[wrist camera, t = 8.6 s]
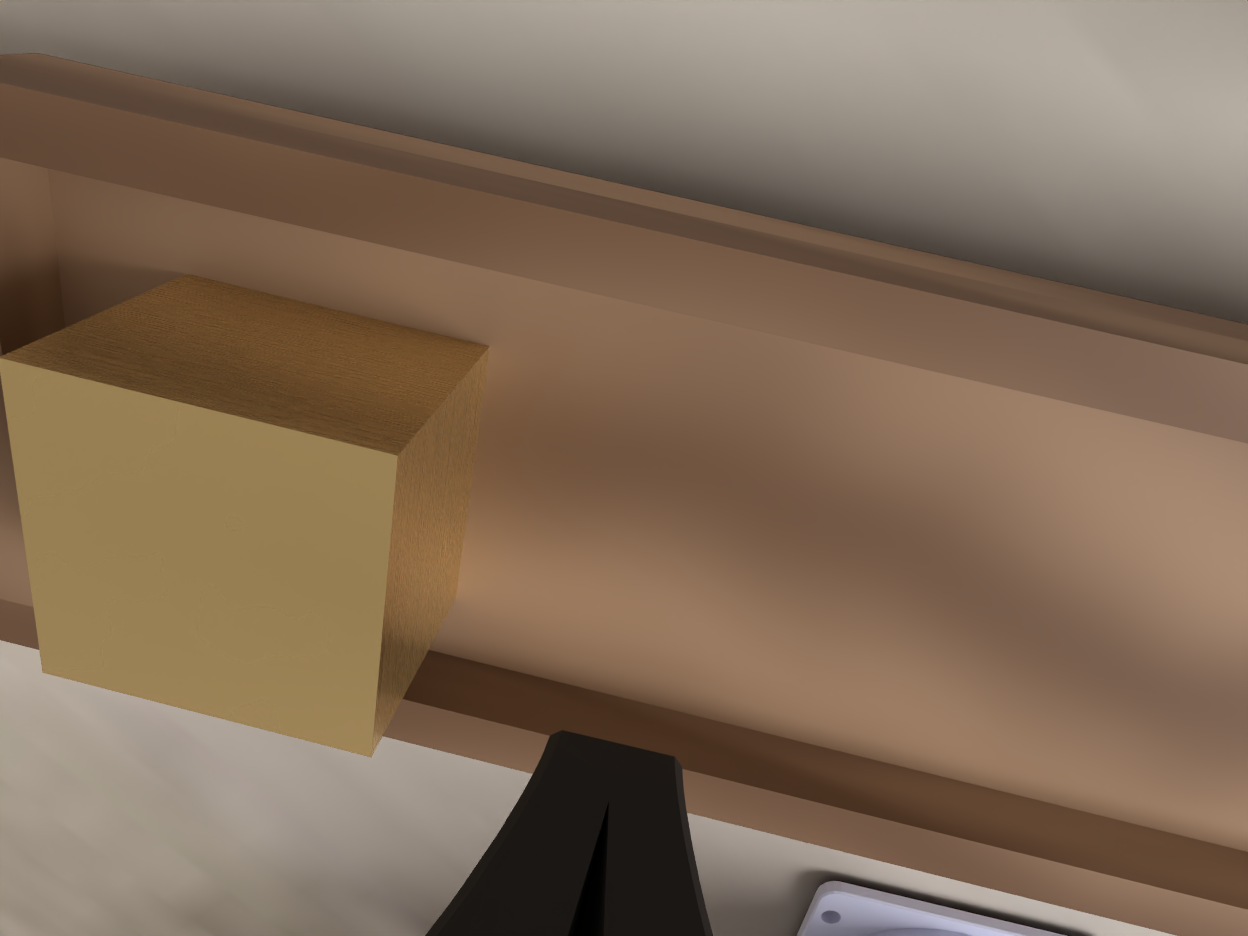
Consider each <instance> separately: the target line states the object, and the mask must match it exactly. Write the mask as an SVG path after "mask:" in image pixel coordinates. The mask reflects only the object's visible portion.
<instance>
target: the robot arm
mask: <svg viewBox="0 0 1248 936" xmlns="http://www.w3.org/2000/svg"><path fill="white" fill-rule="evenodd" d="M425 936H713V934H712V930H711V926H710V923H709V919H708V915H707V911H706V907H705V903H704V898H703V894H702V890H701V885H700V881H699V876H698V871H697V866H696V861H695V856H694V851H693V846H692V841H691V835H690V829H689V823H688V817H687V810H686V803H685V794H684V786H683V771H682V766H681V765H680V763H679V762H678V760H677V759H676V758H675V756H671V755H667V754H662V753H658V752H654V751H650V750H645V749H641V748H637V747H633V746H628V745H624V744H620V743H616V742H611V741H607V740H603V739H599V738H594V737H590V736H586V735H582V734H577V733H573V732H569V731H564V730H561V731H559V732H556V733H554V734H552V735H550V737H549V739H548V742H547V744H546V747H545V749H544V752H543V754H542V756H541V759H540V761H539V763H538V765H537V767H536V769H535V771H534V773H533V775H532V777H531V779H530V781H529V782H528V784H527V786H526V788H525V790H524V791H523V793H522V795H521V797H520V798H519V800H518V802H517V804H516V805H515V807H514V808H513V810H512V812H511V813H510V815H509V817H508V818H507V820H506V822H505V823H504V825H503V826H502V828H501V830H500V831H499V833H498V834H497V836H496V837H495V839H494V840H493V842H492V843H491V845H490V846H489V848H488V849H487V851H486V852H485V854H484V855H483V857H482V858H481V859H480V861H479V862H478V864H477V865H476V867H475V868H474V870H473V871H472V873H471V874H470V876H469V877H468V879H467V880H466V881H465V883H464V884H463V886H462V887H461V889H460V890H459V892H458V893H457V894H456V896H455V897H454V899H453V900H452V901H451V903H450V904H449V905H448V907H447V908H446V909H445V911H444V912H443V913H442V915H441V916H440V917H439V919H438V920H437V921H436V922H435V924H434V925H433V926H432V928H431V929H430V930H429V931H428V933H427V934H426V935H425ZM797 936H1066V935H1062V934H1058V933H1053V932H1049V931H1045V930H1041V929H1037V928H1032V927H1028V926H1024V925H1020V924H1016V923H1012V922H1007V921H1003V920H999V919H995V918H991V917H986V916H982V915H978V914H974V913H970V912H966V911H961V910H957V909H953V908H949V907H945V906H940V905H936V904H932V903H928V902H924V901H920V900H915V899H911V898H907V897H903V896H899V895H894V894H890V893H886V892H882V891H878V890H874V889H869V888H865V887H861V886H857V885H853V884H848V883H844V882H840V881H829V882H826V883H824V884H822V885H820V887H819V888H818V889H817V891H816V893H815V895H814V898H813V900H812V902H811V905H810V907H809V909H808V911H807V914H806V916H805V918H804V920H803V923H802V925H801V927H800V929H799V932H798V934H797Z"/></svg>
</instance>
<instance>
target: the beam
mask: <svg viewBox="0 0 1248 936" xmlns="http://www.w3.org/2000/svg"><path fill="white" fill-rule="evenodd" d="M187 274H190V275H194V276H199V277H203V278H207V279H211V280H215V281H219V282H224V283H228V284H232V285H236V286H240V287H244V288H249V289H253V290H257V291H261V292H265V293H269V294H274V295H278V296H282V297H286V298H290V299H294V300H299V301H303V302H307V303H311V304H315V305H319V306H324V307H328V308H332V309H336V310H340V311H344V312H349V313H353V314H357V315H361V316H365V317H369V318H374V319H378V320H382V321H386V322H390V323H394V324H399V325H403V326H407V327H411V328H415V329H419V330H424V331H428V332H432V333H436V334H440V335H444V336H449V337H453V338H457V339H461V340H465V341H469V342H474V343H478V344H482V345H486V346H490V349H489V356H488V364H487V371H486V378H485V386H484V393H483V401H482V408H481V416H480V423H479V431H478V438H477V446H476V453H475V460H474V468H473V475H472V483H471V490H470V498H469V505H468V513H467V520H466V528H465V535H464V542H463V550H462V557H461V565H460V572H459V580H458V587H457V595H456V599H455V601H454V603H453V605H452V607H451V609H450V611H449V612H448V614H447V616H446V618H445V620H444V622H443V624H442V626H441V627H440V629H439V631H438V633H437V635H436V637H435V639H434V641H433V642H432V644H431V646H430V648H429V650H428V652H427V654H426V656H425V657H424V659H423V661H422V663H421V665H420V667H419V669H418V671H417V672H416V674H415V676H414V678H413V680H412V682H411V684H410V686H409V687H408V689H407V691H406V693H405V695H404V697H403V699H402V701H401V702H400V704H399V706H398V708H397V710H396V712H395V714H394V716H393V717H392V719H391V721H390V723H389V725H388V727H387V729H386V731H385V732H384V734H383V736H385V737H389V738H393V739H397V740H400V741H404V742H408V743H412V744H416V745H420V746H424V747H428V748H432V749H436V750H440V751H444V752H448V753H452V754H456V755H460V756H464V757H468V758H472V759H476V760H480V761H484V762H488V763H492V764H496V765H500V766H504V767H508V768H512V769H516V770H520V771H524V772H528V773H532V774H533V773H534V771H535V769H536V767H537V765H538V763H539V761H540V759H541V756H542V754H543V752H544V749H545V747H546V744H547V742H548V739H549V737H550V735H552V734H554V733H556V732H559V731H561V730H564V731H569V732H573V733H577V734H582V735H586V736H590V737H594V738H599V739H603V740H607V741H611V742H616V743H620V744H624V745H628V746H633V747H637V748H641V749H645V750H650V751H654V752H658V753H662V754H667V755H671V756H675V758H676V759H677V760H678V762H679V763H680V765H681V766H682V771H683V786H684V794H685V803H686V810H687V813H691V814H695V815H699V816H703V817H707V818H711V819H715V820H719V821H723V822H727V823H731V824H735V825H739V826H743V827H747V828H751V829H755V830H759V831H763V832H767V833H771V834H775V835H779V836H783V837H787V838H791V839H795V840H799V841H803V842H807V843H811V844H815V845H819V846H823V847H827V848H831V849H835V850H839V851H843V852H847V853H851V854H855V855H859V856H863V857H867V858H871V859H875V860H878V861H882V862H886V863H890V864H894V865H898V866H902V867H906V868H910V869H914V870H918V871H922V872H926V873H930V874H934V875H938V876H942V877H946V878H950V879H954V880H958V881H962V882H966V883H970V884H974V885H978V886H982V887H986V888H990V889H994V890H998V891H1002V892H1006V893H1010V894H1014V895H1018V896H1022V897H1026V898H1030V899H1034V900H1038V901H1042V902H1046V903H1050V904H1054V905H1058V906H1062V907H1066V908H1070V909H1074V910H1078V911H1082V912H1086V913H1090V914H1094V915H1098V916H1102V917H1106V918H1110V919H1113V920H1117V921H1121V922H1125V923H1129V924H1133V925H1137V926H1141V927H1145V928H1149V929H1153V930H1157V931H1161V932H1165V933H1169V934H1173V935H1177V936H1248V324H1243V323H1239V322H1234V321H1230V320H1225V319H1221V318H1217V317H1212V316H1208V315H1203V314H1199V313H1194V312H1190V311H1185V310H1181V309H1176V308H1172V307H1168V306H1163V305H1159V304H1154V303H1150V302H1145V301H1141V300H1136V299H1132V298H1127V297H1123V296H1118V295H1114V294H1110V293H1105V292H1101V291H1096V290H1092V289H1087V288H1083V287H1078V286H1074V285H1069V284H1065V283H1060V282H1056V281H1052V280H1047V279H1043V278H1038V277H1034V276H1029V275H1025V274H1020V273H1016V272H1011V271H1007V270H1003V269H998V268H994V267H989V266H985V265H980V264H976V263H971V262H967V261H962V260H958V259H953V258H949V257H945V256H940V255H936V254H931V253H927V252H922V251H918V250H913V249H909V248H904V247H900V246H895V245H891V244H887V243H882V242H878V241H873V240H869V239H864V238H860V237H855V236H851V235H846V234H842V233H838V232H833V231H829V230H824V229H820V228H815V227H811V226H806V225H802V224H797V223H793V222H788V221H784V220H780V219H775V218H771V217H766V216H762V215H757V214H753V213H748V212H744V211H739V210H735V209H730V208H726V207H722V206H717V205H713V204H708V203H704V202H699V201H695V200H690V199H686V198H681V197H677V196H673V195H668V194H664V193H659V192H655V191H650V190H646V189H641V188H637V187H632V186H628V185H623V184H619V183H615V182H610V181H606V180H601V179H597V178H592V177H588V176H583V175H579V174H574V173H570V172H565V171H561V170H557V169H552V168H548V167H543V166H539V165H534V164H530V163H525V162H521V161H516V160H512V159H508V158H503V157H499V156H494V155H490V154H485V153H481V152H476V151H472V150H467V149H463V148H458V147H454V146H450V145H445V144H441V143H436V142H432V141H427V140H423V139H418V138H414V137H409V136H405V135H400V134H396V133H392V132H387V131H383V130H378V129H374V128H369V127H365V126H360V125H356V124H351V123H347V122H342V121H338V120H334V119H329V118H325V117H320V116H316V115H311V114H307V113H302V112H298V111H293V110H289V109H285V108H280V107H276V106H271V105H267V104H262V103H258V102H253V101H249V100H244V99H240V98H235V97H231V96H227V95H222V94H218V93H213V92H209V91H204V90H200V89H195V88H191V87H186V86H182V85H177V84H173V83H169V82H164V81H160V80H155V79H151V78H146V77H142V76H137V75H133V74H128V73H124V72H120V71H115V70H111V69H106V68H102V67H97V66H93V65H88V64H84V63H79V62H75V61H70V60H66V59H62V58H57V57H53V56H48V55H44V54H39V53H29V54H7V55H0V357H1V356H3V355H5V354H7V353H10V352H12V351H14V350H16V349H19V348H21V347H23V346H26V345H28V344H30V343H32V342H35V341H37V340H39V339H41V338H44V337H46V336H48V335H50V334H53V333H55V332H57V331H60V330H62V329H64V328H66V327H69V326H71V325H73V324H75V323H78V322H80V321H82V320H84V319H87V318H89V317H91V316H94V315H96V314H98V313H100V312H103V311H105V310H107V309H109V308H112V307H114V306H116V305H119V304H121V303H123V302H125V301H128V300H130V299H132V298H134V297H137V296H139V295H141V294H143V293H146V292H148V291H150V290H153V289H155V288H157V287H159V286H162V285H164V284H166V283H168V282H171V281H173V280H175V279H177V278H180V277H182V276H184V275H187ZM0 640H2V641H6V642H10V643H14V644H18V645H22V646H26V647H30V648H34V649H38V650H39V643H38V635H37V628H36V621H35V614H34V607H33V600H32V593H31V586H30V579H29V572H28V565H27V558H26V551H25V544H24V537H23V530H22V523H21V516H20V509H19V502H18V495H17V487H16V480H15V473H14V466H13V459H12V452H11V445H10V438H9V431H8V424H7V417H6V410H5V403H4V396H3V389H2V382H1V375H0Z"/></svg>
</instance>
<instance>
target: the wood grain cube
mask: <svg viewBox="0 0 1248 936" xmlns="http://www.w3.org/2000/svg"><path fill="white" fill-rule="evenodd" d="M489 349H490V346H486V345H482V344H478V343H474V342H469V341H465V340H461V339H457V338H453V337H449V336H444V335H440V334H436V333H432V332H428V331H424V330H419V329H415V328H411V327H407V326H403V325H399V324H394V323H390V322H386V321H382V320H378V319H374V318H369V317H365V316H361V315H357V314H353V313H349V312H344V311H340V310H336V309H332V308H328V307H324V306H319V305H315V304H311V303H307V302H303V301H299V300H294V299H290V298H286V297H282V296H278V295H274V294H269V293H265V292H261V291H257V290H253V289H249V288H244V287H240V286H236V285H232V284H228V283H224V282H219V281H215V280H211V279H207V278H203V277H199V276H194V275H190V274H187V275H184V276H182V277H180V278H177V279H175V280H173V281H171V282H168V283H166V284H164V285H162V286H159V287H157V288H155V289H153V290H150V291H148V292H146V293H143V294H141V295H139V296H137V297H134V298H132V299H130V300H128V301H125V302H123V303H121V304H119V305H116V306H114V307H112V308H109V309H107V310H105V311H103V312H100V313H98V314H96V315H94V316H91V317H89V318H87V319H84V320H82V321H80V322H78V323H75V324H73V325H71V326H69V327H66V328H64V329H62V330H60V331H57V332H55V333H53V334H50V335H48V336H46V337H44V338H41V339H39V340H37V341H35V342H32V343H30V344H28V345H26V346H23V347H21V348H19V349H16V350H14V351H12V352H10V353H7V354H5V355H3V356H1V357H0V375H1V382H2V389H3V396H4V403H5V410H6V417H7V424H8V431H9V438H10V445H11V452H12V459H13V466H14V473H15V480H16V487H17V495H18V502H19V509H20V516H21V523H22V530H23V537H24V544H25V551H26V558H27V565H28V572H29V579H30V586H31V593H32V600H33V607H34V614H35V621H36V628H37V635H38V643H39V650H40V657H41V664H42V671H43V673H47V674H50V675H54V676H58V677H62V678H66V679H70V680H74V681H78V682H81V683H85V684H89V685H93V686H97V687H101V688H105V689H109V690H112V691H116V692H120V693H124V694H128V695H132V696H136V697H140V698H144V699H147V700H151V701H155V702H159V703H163V704H167V705H171V706H175V707H178V708H182V709H186V710H190V711H194V712H198V713H202V714H206V715H209V716H213V717H217V718H221V719H225V720H229V721H233V722H237V723H241V724H244V725H248V726H252V727H256V728H260V729H264V730H268V731H272V732H275V733H279V734H283V735H287V736H291V737H295V738H299V739H303V740H306V741H310V742H314V743H318V744H322V745H326V746H330V747H334V748H338V749H341V750H345V751H349V752H353V753H357V754H361V755H365V756H369V757H372V755H373V753H374V751H375V749H376V747H377V745H378V744H379V742H380V740H381V738H382V736H383V734H384V732H385V731H386V729H387V727H388V725H389V723H390V721H391V719H392V717H393V716H394V714H395V712H396V710H397V708H398V706H399V704H400V702H401V701H402V699H403V697H404V695H405V693H406V691H407V689H408V687H409V686H410V684H411V682H412V680H413V678H414V676H415V674H416V672H417V671H418V669H419V667H420V665H421V663H422V661H423V659H424V657H425V656H426V654H427V652H428V650H429V648H430V646H431V644H432V642H433V641H434V639H435V637H436V635H437V633H438V631H439V629H440V627H441V626H442V624H443V622H444V620H445V618H446V616H447V614H448V612H449V611H450V609H451V607H452V605H453V603H454V601H455V599H456V595H457V587H458V580H459V572H460V565H461V557H462V550H463V542H464V535H465V528H466V520H467V513H468V505H469V498H470V490H471V483H472V475H473V468H474V460H475V453H476V446H477V438H478V431H479V423H480V416H481V408H482V401H483V393H484V386H485V378H486V371H487V364H488V356H489Z"/></svg>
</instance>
